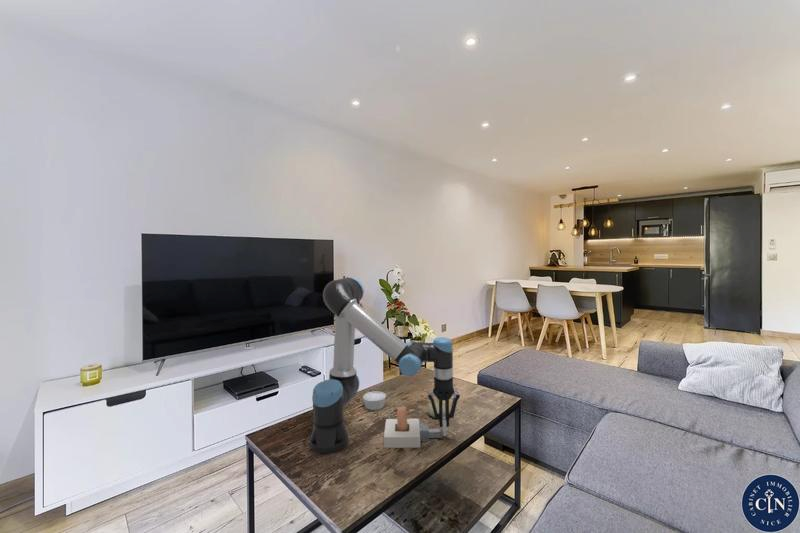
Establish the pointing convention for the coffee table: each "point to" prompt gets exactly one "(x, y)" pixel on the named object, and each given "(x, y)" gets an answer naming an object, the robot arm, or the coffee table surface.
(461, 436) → the coffee table surface
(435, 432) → the lock pin
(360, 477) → the coffee table surface
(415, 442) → the dock
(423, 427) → the pin guide
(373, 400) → the ramekin
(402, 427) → the peg
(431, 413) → the sea urchin shell
